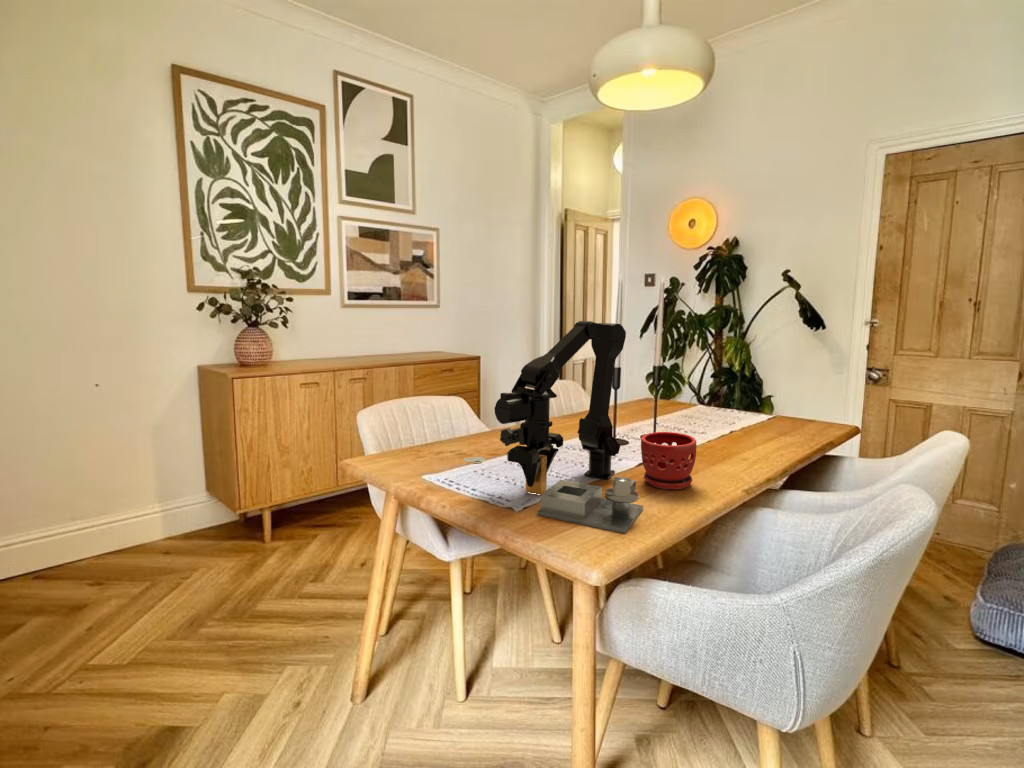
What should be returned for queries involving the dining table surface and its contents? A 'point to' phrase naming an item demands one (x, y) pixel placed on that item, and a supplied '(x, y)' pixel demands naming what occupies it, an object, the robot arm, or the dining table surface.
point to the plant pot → (668, 459)
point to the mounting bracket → (475, 460)
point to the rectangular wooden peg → (539, 478)
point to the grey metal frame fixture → (593, 504)
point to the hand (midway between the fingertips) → (536, 482)
